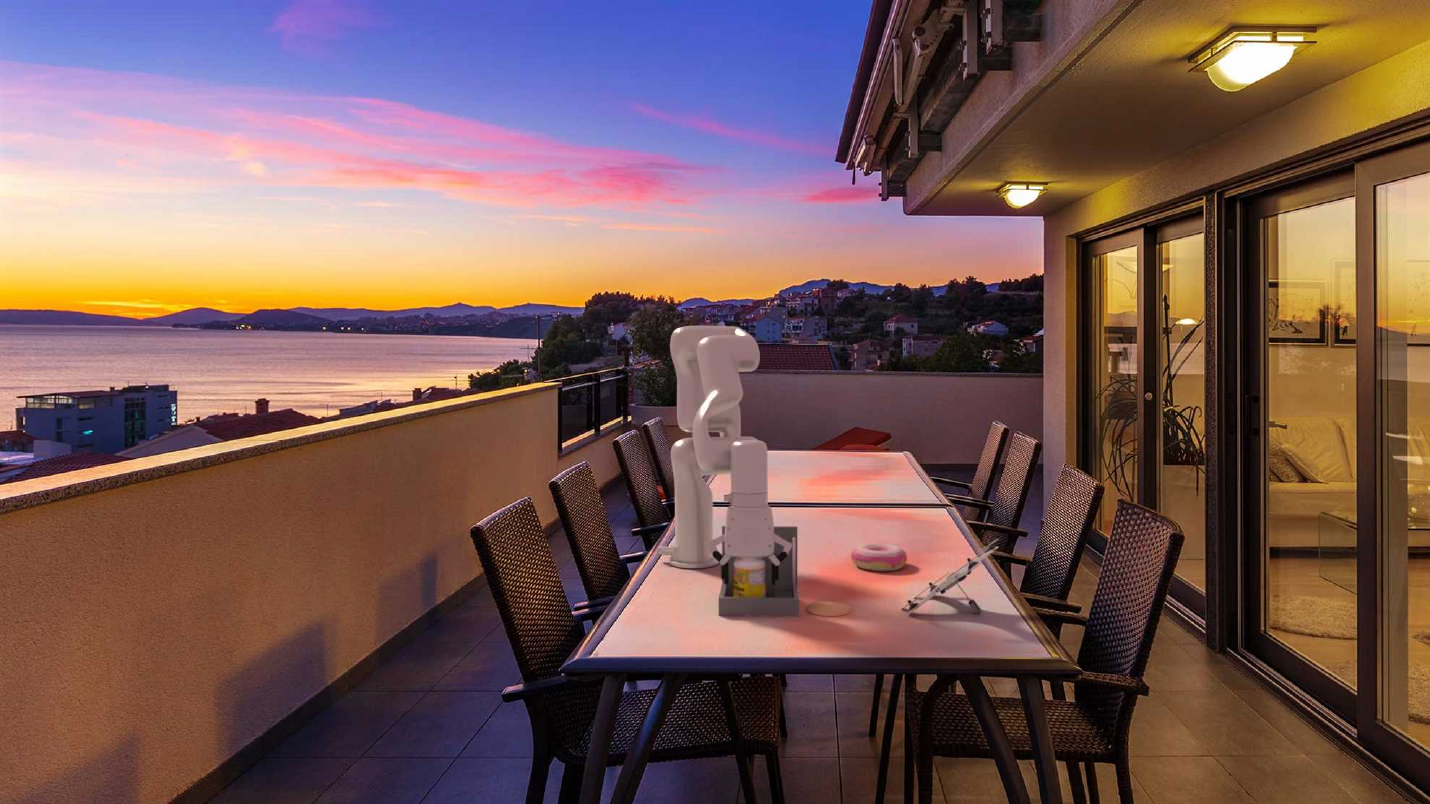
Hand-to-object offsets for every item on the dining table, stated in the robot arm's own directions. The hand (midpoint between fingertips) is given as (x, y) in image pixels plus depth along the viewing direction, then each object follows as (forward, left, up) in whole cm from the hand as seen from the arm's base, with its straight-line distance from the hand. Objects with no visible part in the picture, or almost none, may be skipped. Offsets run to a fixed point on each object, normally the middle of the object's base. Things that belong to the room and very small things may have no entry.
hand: (750, 583), depth 171 cm
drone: (+41, +1, -5) cm, 41 cm away
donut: (+31, +36, -6) cm, 48 cm away
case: (+2, 0, -5) cm, 5 cm away
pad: (+16, -1, -5) cm, 17 cm away
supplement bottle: (0, 0, -5) cm, 5 cm away
